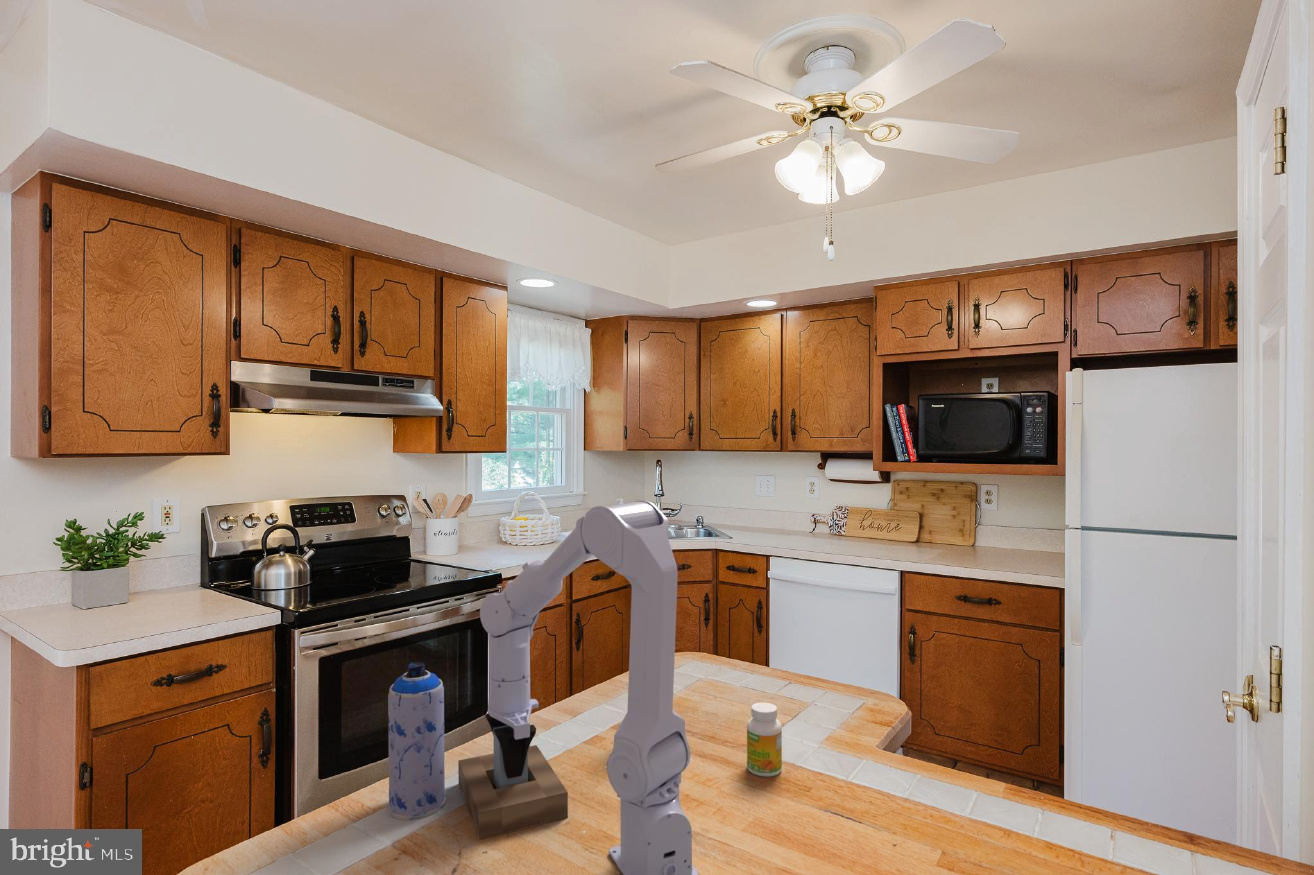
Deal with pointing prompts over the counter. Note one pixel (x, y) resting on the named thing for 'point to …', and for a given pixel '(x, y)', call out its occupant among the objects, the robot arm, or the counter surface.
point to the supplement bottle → (764, 740)
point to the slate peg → (499, 770)
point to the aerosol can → (416, 744)
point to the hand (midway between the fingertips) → (510, 769)
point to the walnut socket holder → (511, 795)
